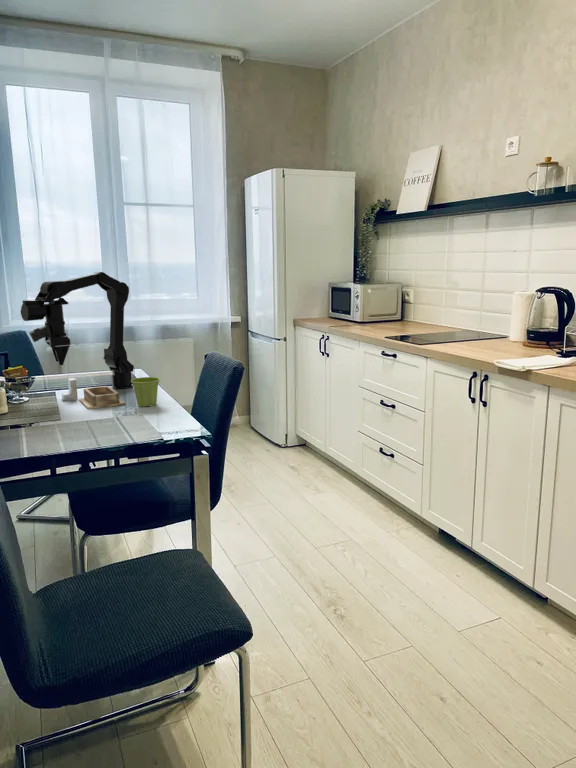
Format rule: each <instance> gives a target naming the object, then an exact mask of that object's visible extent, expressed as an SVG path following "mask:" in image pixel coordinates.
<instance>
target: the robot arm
mask: <svg viewBox="0 0 576 768" xmlns="http://www.w3.org/2000/svg"><path fill="white" fill-rule="evenodd" d="M95 285H97V286H99V287H100V288H101V289H102V290H103V291H105V292H106V298H107V301H108V303H109V305H110V321H109V324H110V325H109V326H110V327H109V329H110V330H109V345H108V347H107V348H104V349H103V357H102V359H103V360H104V363H105V364H106V366H107V367H108V368H109V370H110V371H111V372H112V374H111V377H110V378H111V386H112V387H113V388H114V389H115V390H118V389H128V388H129V389H130V388H134V386H133V384H132V382H131V380H132V373H133V372H134V368H135V366H134V365H133V363H131V362H130V361H129V360H128V353H127V350H126V348H125V346H124V328H125V327H124V325H125V324H124V321H125V319H124V318H125V306H126V303H127V301H128V300H129V294H130V287H129V285H128V284H127V283H125V282H124V281H119V280H117V279H116V278H114V277H112V276H110V275H108V274H107V273H105V272H103V271H95V272H93V273H89V274H85V275H81V276H78V277H77V276H76V277H73V278H69V279H66V280H49V281H47V280H46V281H43V282H42V283H41V285H40V286H39V287H40V288H39V291H38V294H37V296H36V297H35V299H33V300H29V299H24V300H21V301H22V304H21V306H20V316H21V318H22V320H23V321H24V322H30V321H42V320H44V318H45V321H44V326H41V327H37V328H35V329H33V330H32V331H29V332H28V334H29V336H30V338H31V339H32V341H33V342H34V343H36V342H38V341H39V340H41V339H44V341H45V343H46V344H47V345H48V346H49V347H50V348H51V351H52V353H53V354H52V355H53V357H54V361H55V362H58V364H59V366H64V363H65V360H66V358H67V354H68V352H69V348H70V347H71V346H70V345H71V339H70V338H69V337H68V336H67V333H66V329H65V328H66V327H65V325H66V321H65V319H64V309H63V308H64V307H63V305H69V302H68V301H67V300H66V299H64V296H67V295H68V294H69V293H71V292H74V291H76V290H80V289H85V288H89V287H91V286H95Z"/></svg>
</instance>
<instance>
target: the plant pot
mask: <svg viewBox="0 0 576 768" xmlns="http://www.w3.org/2000/svg"><path fill="white" fill-rule="evenodd" d="M160 380H161V378H160V377H156V376H155V377H154V376H144V377H142V376H141V377H137V378H131V382H132V385H133V391H134V394H135V399H136V402H137V403H136V404H137V406H138V407H144V408H145V407H153V406H156V405H157V402H158V401H157V400H158V388H159V383H160Z"/></svg>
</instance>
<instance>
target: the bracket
mask: <svg viewBox="0 0 576 768" xmlns="http://www.w3.org/2000/svg"><path fill="white" fill-rule="evenodd" d="M67 382H68V383H67V385H68V392H61V399H62V400H63V402H67V401H68V402H69V401H76V400H79V398H78V387H77V386H78V385H77V379H76V378H75V377H71V378H70V377H69V378H67Z"/></svg>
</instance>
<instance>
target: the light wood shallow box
mask: <svg viewBox="0 0 576 768" xmlns="http://www.w3.org/2000/svg"><path fill="white" fill-rule="evenodd" d="M78 401H79V402H80V403H81V404H82V405H83V406H84V407H85V408H86V409H87V410H94V409H100V408H109V407H116V406H125V405H126V402H125V401H123V400H122V399H121V398H120V393H119V392H118V391H116V389H113V388H112V387H110V385H103V386H94V387H93V386H92V387H86V388H83V397H82V398H78Z"/></svg>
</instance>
